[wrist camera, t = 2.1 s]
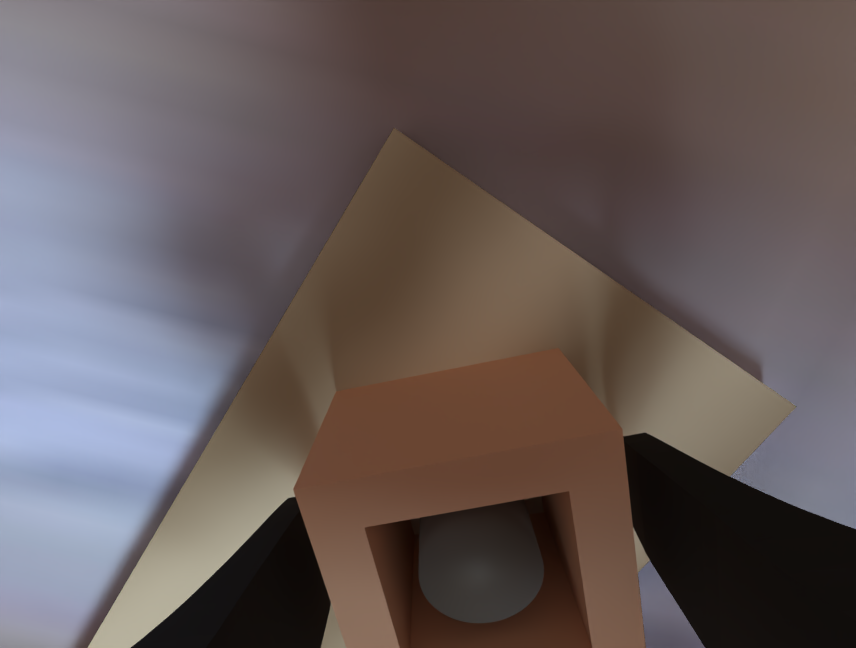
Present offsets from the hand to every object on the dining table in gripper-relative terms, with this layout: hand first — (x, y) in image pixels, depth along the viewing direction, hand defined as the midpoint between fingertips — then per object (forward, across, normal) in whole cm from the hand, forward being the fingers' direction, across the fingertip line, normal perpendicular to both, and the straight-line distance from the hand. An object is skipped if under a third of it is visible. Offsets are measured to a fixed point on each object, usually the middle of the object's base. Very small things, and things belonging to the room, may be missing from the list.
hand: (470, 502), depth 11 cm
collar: (+2, 0, 0) cm, 2 cm away
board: (+3, +6, +6) cm, 9 cm away
